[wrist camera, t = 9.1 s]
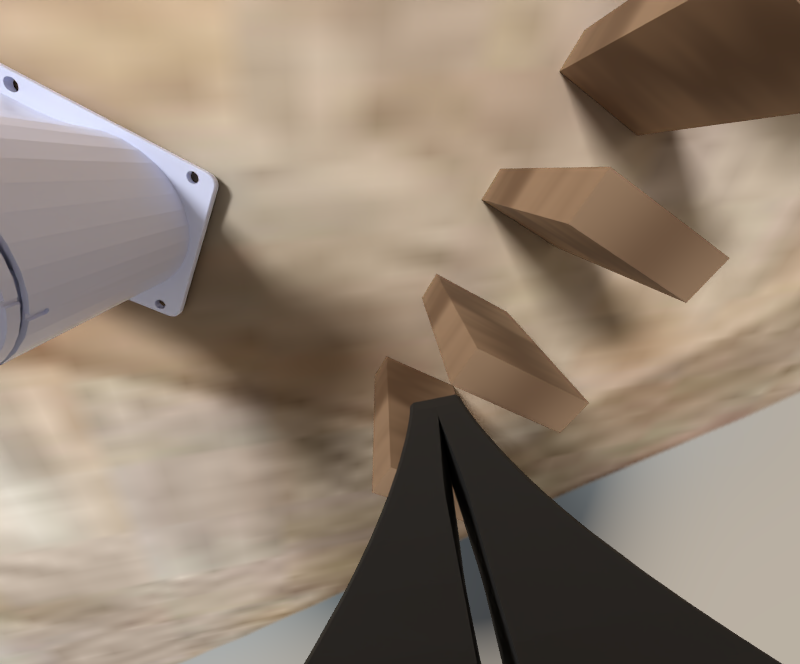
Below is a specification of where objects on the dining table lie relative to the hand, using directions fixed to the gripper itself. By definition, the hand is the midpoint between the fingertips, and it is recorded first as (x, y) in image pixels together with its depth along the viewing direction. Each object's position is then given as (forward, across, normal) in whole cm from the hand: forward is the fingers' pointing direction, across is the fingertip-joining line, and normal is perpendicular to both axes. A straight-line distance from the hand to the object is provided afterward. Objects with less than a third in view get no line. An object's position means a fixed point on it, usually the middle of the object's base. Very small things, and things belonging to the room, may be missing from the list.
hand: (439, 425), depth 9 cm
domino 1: (+10, +1, +6) cm, 12 cm away
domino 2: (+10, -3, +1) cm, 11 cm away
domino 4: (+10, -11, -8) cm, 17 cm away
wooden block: (+10, -7, -4) cm, 13 cm away
